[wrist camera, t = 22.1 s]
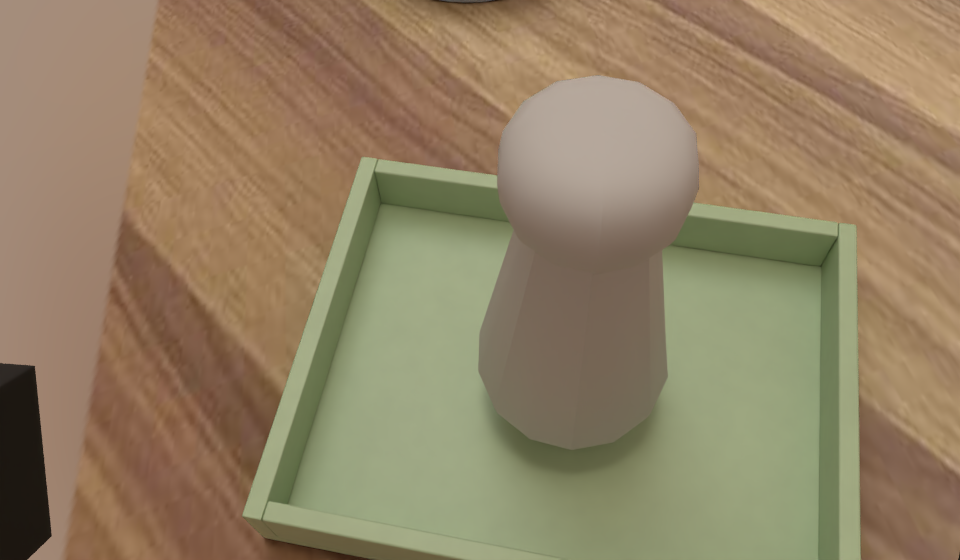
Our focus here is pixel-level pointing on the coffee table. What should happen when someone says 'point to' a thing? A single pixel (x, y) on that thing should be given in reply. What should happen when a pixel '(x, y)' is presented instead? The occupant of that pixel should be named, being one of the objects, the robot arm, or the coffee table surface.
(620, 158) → the salt shaker
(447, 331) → the tray
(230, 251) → the coffee table surface
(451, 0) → the bowl
